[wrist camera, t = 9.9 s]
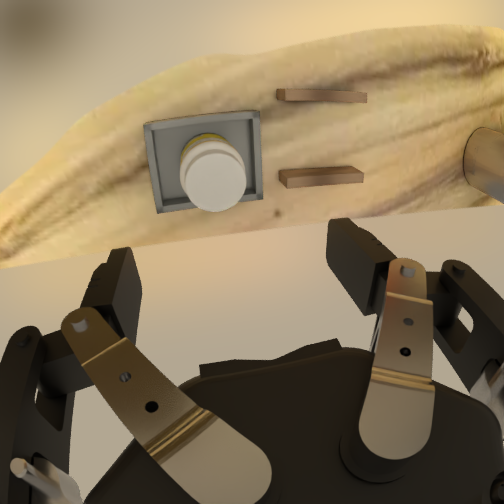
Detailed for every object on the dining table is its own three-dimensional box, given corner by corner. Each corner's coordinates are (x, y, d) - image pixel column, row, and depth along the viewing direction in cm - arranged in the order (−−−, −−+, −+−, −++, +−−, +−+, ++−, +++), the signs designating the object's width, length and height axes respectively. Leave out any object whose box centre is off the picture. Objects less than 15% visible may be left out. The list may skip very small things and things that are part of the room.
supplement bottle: (228, 185, 28) (244, 222, 21) (177, 180, 27) (174, 215, 19) (237, 135, 26) (259, 153, 19) (184, 128, 24) (183, 143, 17)
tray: (253, 109, 25) (259, 111, 23) (257, 191, 29) (263, 199, 28) (146, 122, 24) (143, 124, 22) (158, 204, 28) (157, 213, 26)
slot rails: (353, 91, 26) (367, 93, 24) (351, 175, 30) (363, 182, 28) (276, 89, 25) (285, 89, 23) (279, 180, 29) (287, 188, 27)
